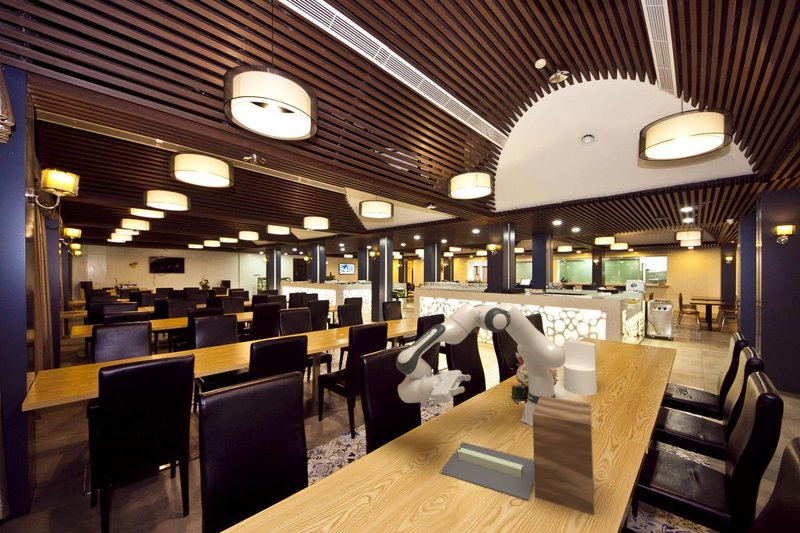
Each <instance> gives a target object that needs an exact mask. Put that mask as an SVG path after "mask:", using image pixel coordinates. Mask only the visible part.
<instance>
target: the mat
mask: <svg viewBox="0 0 800 533" xmlns="http://www.w3.org/2000/svg"><path fill="white" fill-rule="evenodd" d="M459 446H460V448H459ZM459 446H458V447H457V448H458V449H459V450H460V449H461V448H465V449H468V450H472V451H475V452H479V453H482V454H485V455H489V456H492V457H496V458H499V459H503V460H506V461H510V462H513V463H517V464H520V465H523V476H522V478H518V477H515V476H512V475H508V474H505V473H502V472H499V471H495V470H492V469H489V468H486V467H483V466H479V465H476V464H473V463H470V462H466V461H463V460H460V459H459V452H458V450H457V449H456V450H457V452H456V453H454V452H453V453H452V455H451V456H450V458H449V459H448V460H449V461H448V460H447V461H446V463H445V464H444V465H443V466H442V468H441V469H440V471H439V473H440V472H441V471H442V472H441V473H444V474H446V475H445V476H447V475H449V476H448V477H450V476H451V477H452V478H453V477H455V478H454V479H457V480H460V481H463V482H465V483H466V482H467V483H470V484H474V485H476V486H479V487H482V488H485V489H489V490H492V491H495V492H497V493H501V494H505V495H508V496H511V497H515V498H517V499H521V500H524V501H527V502H529V501H530V496H531V493H532V489H533V485H534V484H535V477H534V459H532V458H531V459H530V458H527V457H523V456H520V455H516V454H512V453H507V452H504V451H500V450H496V449H492V448H487V447H483V446H480V445H477V444H476V445H475V444H472V443H467V442H465V441H462V442H461V443H460V444H459ZM441 473H440V474H441ZM444 474H443V475H444Z"/></svg>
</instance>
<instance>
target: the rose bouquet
mask: <svg viewBox="0 0 800 533" xmlns="http://www.w3.org/2000/svg"><path fill="white" fill-rule="evenodd" d="M515 356H516V359H517V360H518V362H519V363H516V364H515V365H516V366H518V368H517V370H516V373H515V377H514V379H516V381H517V382H518V383H520V384H518V385H511V389H512V392H511V393H512V396H511V398H512V400H513V401H514V402H515V403H516V404H517V403H519V402H521V401H526V400H527V399H528V391H529V382H528V373H527V369H526V366H525V363H524V361H523V359H522V357H521V355H520V354H519V353H518V352H515ZM547 368H548V370H549V372H550V373H551V374H552V376H553V379H554V386H555V385H557V383H558V382H559V379H557V377H559V376H558V373H557V372H558V369H557V368H553V367H547ZM510 370H514V368H513V367H510ZM526 402H527V401H526Z"/></svg>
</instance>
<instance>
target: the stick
mask: <svg viewBox="0 0 800 533" xmlns="http://www.w3.org/2000/svg"><path fill="white" fill-rule="evenodd" d="M459 459H460V460H463V461H466V462H470V463H473V464H476V465H479V466H483V467H486V468H489V469H492V470H495V471H499V472H502V473H505V474H508V475H512V476H515V477H518V478H522V476H523V465H520V464H517V463H513V462H510V461H506V460H503V459H499V458H496V457H492V456H489V455H485V454H482V453H479V452H475V451H472V450H468V449H465V448H461V449H460V450H459Z"/></svg>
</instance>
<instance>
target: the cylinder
mask: <svg viewBox="0 0 800 533" xmlns="http://www.w3.org/2000/svg"><path fill="white" fill-rule="evenodd" d="M563 345H564V349H563V350H564V352H565V362H564V363H563V377H564V378H563V380H564V381H563V382H564V390H566V391H567V392H569V393H572V394H575V395H576V394H577V395H582V396H593V395H596V394H597V393H598V385H597V384H598V383H597V382H598V380H597V379H598V378H597V358H596V357H597V355H596V344H595V343H593V342H592V341H591V342H590V341H586V340H565V341H563Z"/></svg>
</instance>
